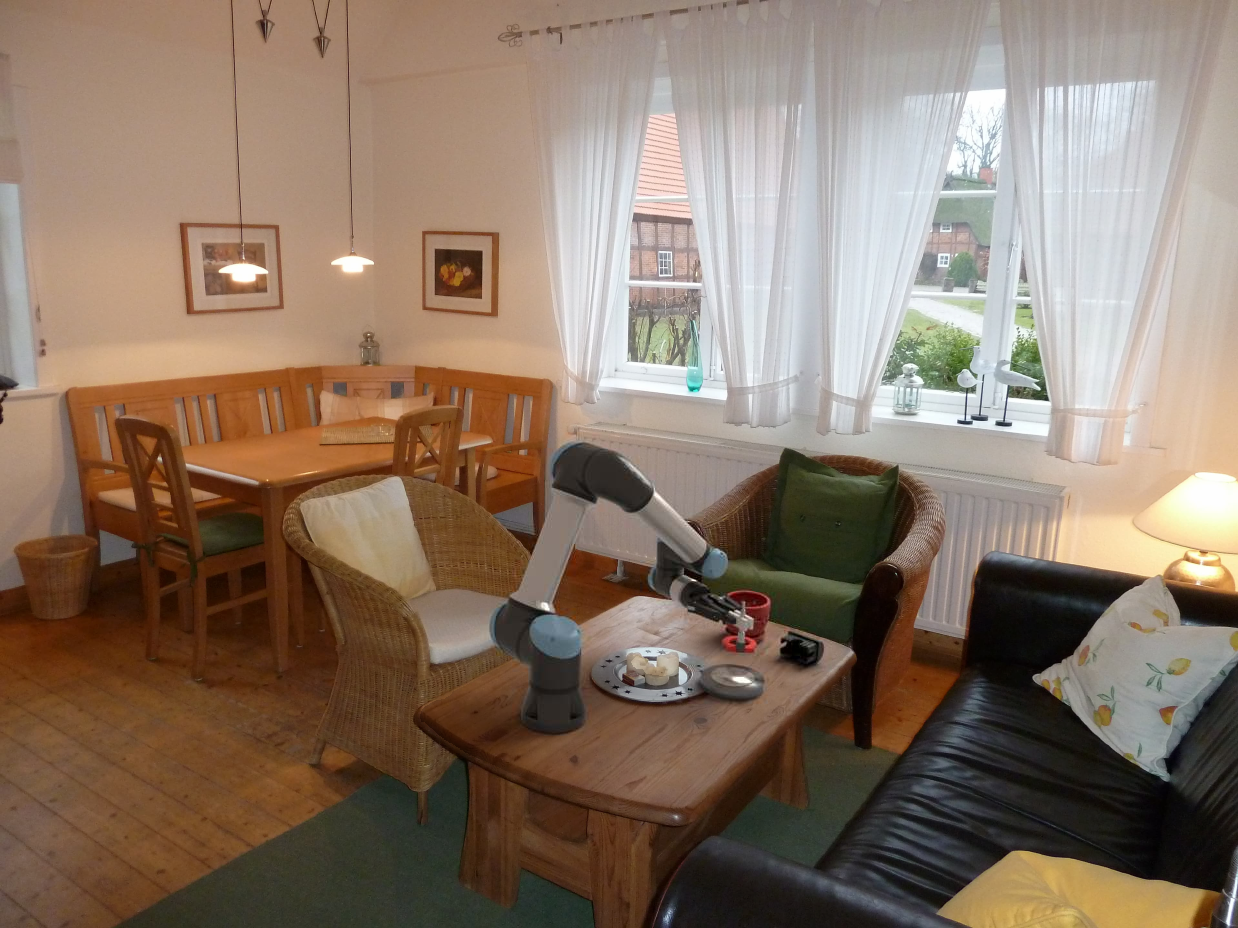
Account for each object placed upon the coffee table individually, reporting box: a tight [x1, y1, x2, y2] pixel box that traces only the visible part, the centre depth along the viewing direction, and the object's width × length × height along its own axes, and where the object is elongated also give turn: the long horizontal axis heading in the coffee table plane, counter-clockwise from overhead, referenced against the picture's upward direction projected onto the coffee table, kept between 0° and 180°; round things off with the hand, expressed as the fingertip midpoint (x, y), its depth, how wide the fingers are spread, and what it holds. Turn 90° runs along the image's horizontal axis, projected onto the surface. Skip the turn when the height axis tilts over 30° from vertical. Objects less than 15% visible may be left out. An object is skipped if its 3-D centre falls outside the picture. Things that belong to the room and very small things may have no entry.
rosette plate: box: [700, 663, 766, 702], centre depth 245 cm, size 16×16×3 cm
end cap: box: [779, 630, 825, 669], centre depth 263 cm, size 10×7×7 cm
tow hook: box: [721, 600, 757, 654], centre depth 240 cm, size 8×13×9 cm
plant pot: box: [724, 590, 771, 644], centre depth 276 cm, size 13×13×12 cm
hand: (749, 624), depth 234 cm, fingers closed on tow hook
